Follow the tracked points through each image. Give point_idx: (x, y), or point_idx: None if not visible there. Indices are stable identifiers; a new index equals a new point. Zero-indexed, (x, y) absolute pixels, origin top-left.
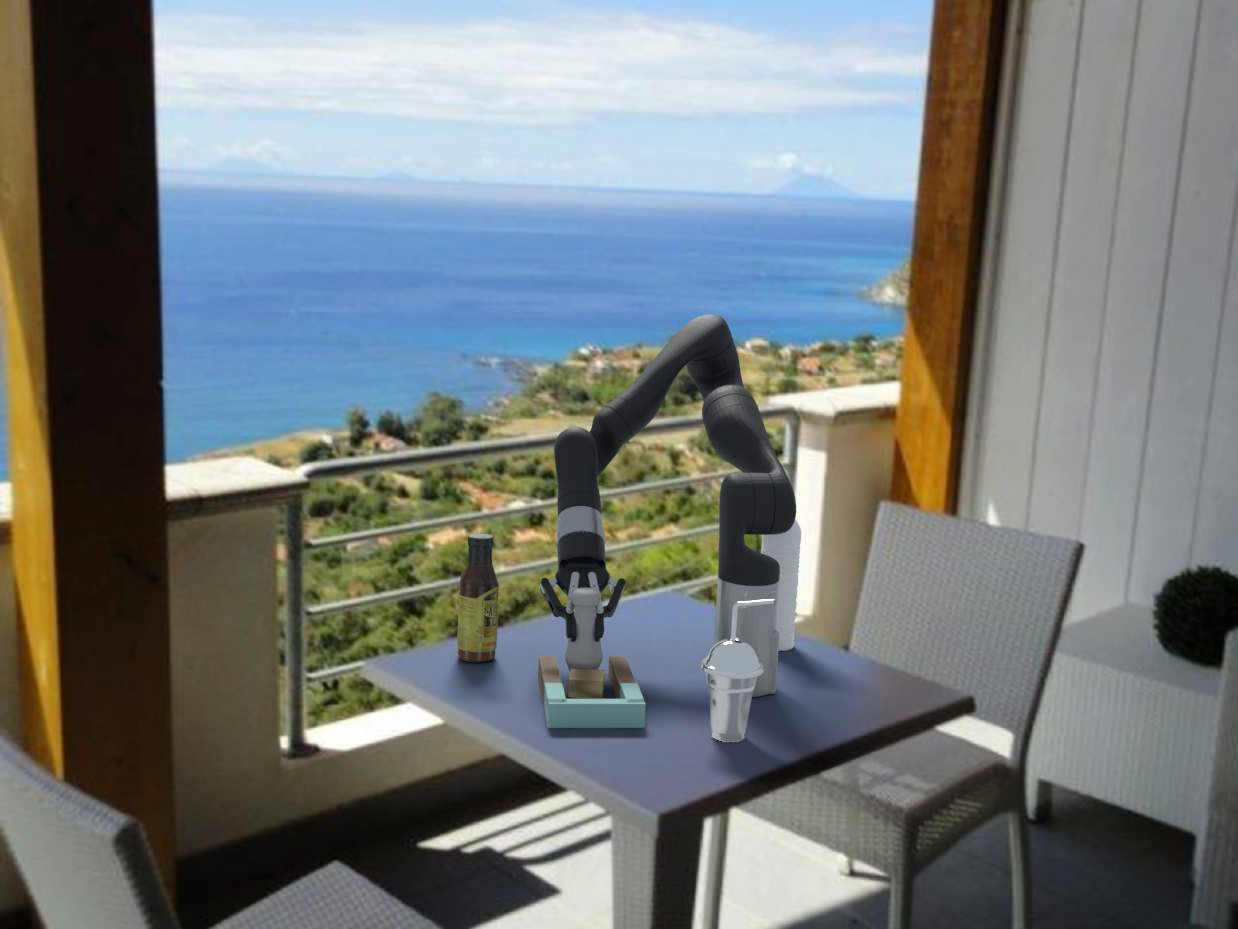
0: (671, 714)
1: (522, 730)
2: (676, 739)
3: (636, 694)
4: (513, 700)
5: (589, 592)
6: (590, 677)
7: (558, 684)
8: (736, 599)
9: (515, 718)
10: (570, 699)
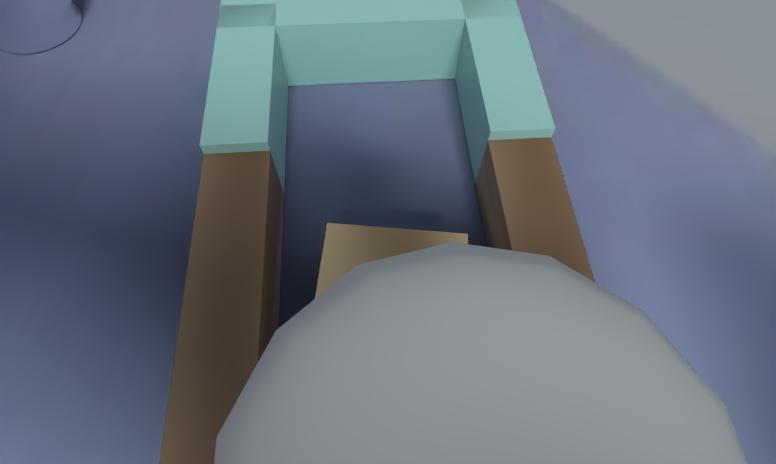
0: (129, 146)
1: (558, 39)
2: (177, 11)
3: (231, 55)
4: (642, 227)
5: (417, 299)
6: (377, 259)
7: (502, 118)
8: None
9: (595, 100)
10: (450, 14)
